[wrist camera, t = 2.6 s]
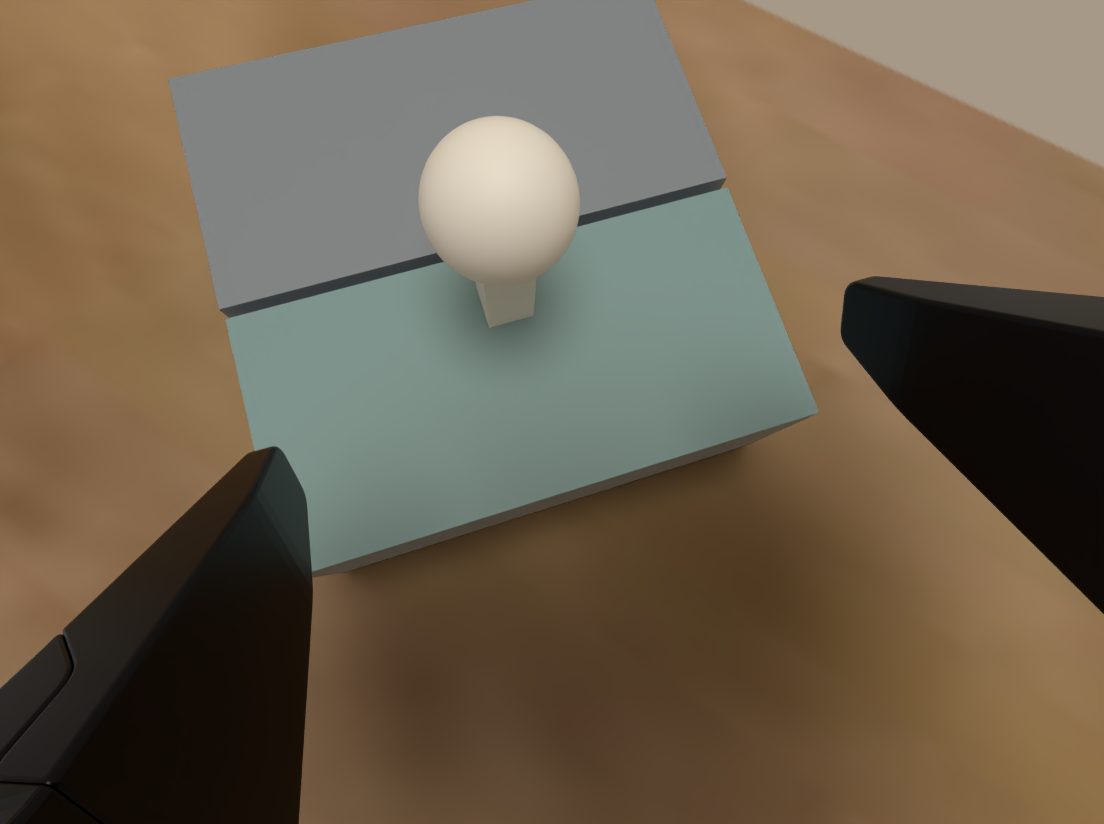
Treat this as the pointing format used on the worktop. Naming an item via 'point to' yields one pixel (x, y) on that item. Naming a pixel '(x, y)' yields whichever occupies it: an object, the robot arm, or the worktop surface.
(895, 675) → the worktop surface
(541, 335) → the near flap
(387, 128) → the carton
